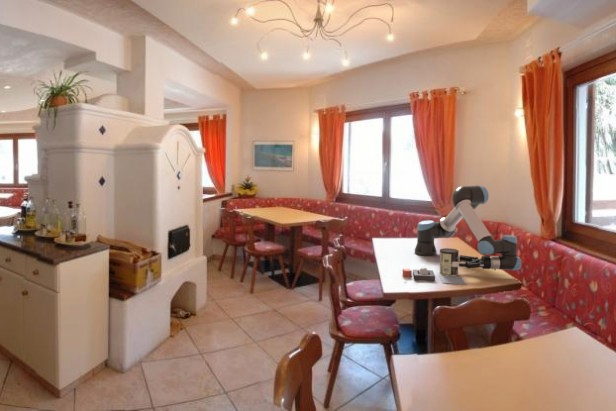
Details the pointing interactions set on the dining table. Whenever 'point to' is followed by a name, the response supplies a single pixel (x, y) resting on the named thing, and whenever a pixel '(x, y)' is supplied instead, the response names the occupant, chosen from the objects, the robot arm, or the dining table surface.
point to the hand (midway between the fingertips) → (450, 260)
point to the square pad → (452, 280)
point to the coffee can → (448, 262)
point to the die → (407, 273)
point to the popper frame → (423, 276)
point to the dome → (423, 271)
